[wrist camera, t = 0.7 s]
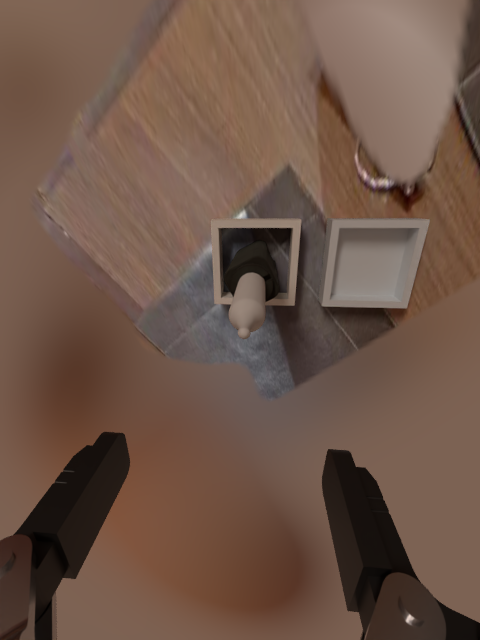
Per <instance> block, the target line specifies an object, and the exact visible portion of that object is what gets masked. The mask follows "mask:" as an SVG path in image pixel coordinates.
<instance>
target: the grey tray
mask: <svg viewBox="0 0 480 640" xmlns="http://www.w3.org/2000/svg"><path fill="white" fill-rule="evenodd" d="M429 222H430V220H429V219H420V218H328V220H327V229H326V237H325V246H324V255H323V263H322V272H321V280H320V289H319V298H318V300H319V302H320V304H321V306H325V307H369V308H407V306H408V302H409V299H410V295H411V291H412V287H413V283H414V279H415V276H416V272H417V268H418V264H419V260H420V256H421V252H422V249H423V245H424V241H425V237H426V233H427V229H428V226H429Z"/></svg>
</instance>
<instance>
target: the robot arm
mask: <svg viewBox="0 0 480 640" xmlns="http://www.w3.org/2000/svg"><path fill="white" fill-rule="evenodd" d="M129 466H130V458H129V453H128V448H127V443H126V438H125V435H124V434H123V433H114V432H103V433H102V434H101V435H100V436H99V438H98V439H97V440H96V442H95V443H94V445H93V446H90V445H87V446H86V447H84V448H83V449H82V450H81V451H79V452H78V453H77V454H76V455H74V456H73V458H72V459H71V460H70V462H69V463H68V464H67V466H66V467H65V468H64V471H63V472H61V473H60V475H59V476H58V477H57V479H56V480H55V483H54V484H52V485H51V487H50V488H49V489H48V491H47V492H46V494H45V495H44V496H43V497H42V499H41V500H40V501H39V503H38V504H37V505H36V507H35V508H34V509H33V511H32V512H31V513H30V515H29V516H28V518H27V519H26V520H25V521H24V523H23V524H22V525H21V527H20V528H19V529H18V530H17V532H16V533H15V534H14V535H12V536H9V537H6V538H4V539H2V540H0V640H57V623H56V622H57V620H56V619H57V618H56V592H55V591H56V589H57V588H58V586H59V584H60V582H61V580H62V578H71V579H76V577H77V575H78V573H79V571H80V569H81V567H82V565H83V563H84V561H85V559H86V557H87V555H88V553H89V551H90V549H91V547H92V545H93V543H94V541H95V539H96V537H97V535H98V533H99V531H100V529H101V527H102V525H103V523H104V521H105V519H106V517H107V515H108V513H109V511H110V509H111V507H112V505H113V503H114V501H115V499H116V497H117V495H118V493H119V491H120V489H121V487H122V485H123V483H124V481H125V479H126V477H127V474H128V471H129ZM322 489H323V496H324V500H325V505H326V510H327V515H328V520H329V524H330V529H331V534H332V539H333V544H334V548H335V553H336V558H337V562H338V567H339V572H340V577H341V581H342V586H343V591H344V596H345V601H346V605H347V610H348V611H354V612H359V614H360V619H361V623H362V627H363V632H362V634H361V637H360V640H480V623H479V622H476V621H474V620H472V619H470V618H468V617H466V616H464V615H462V614H460V613H458V612H456V611H453V610H452V609H450V608H448V607H446V606H445V605H443V604H442V603H440V602H439V601H438V600H437V599H436V598H434V597H433V595H432V594H431V593H430V592H429V590H428V589H426V587H425V586H424V585H423V584H421V582H420V581H419V579H418V578H417V576H416V574H415V572H414V571H413V569H412V566H411V564H410V561H409V559H408V556H407V554H406V551H405V549H404V547H403V544H402V542H401V539H400V537H399V535H398V533H397V530H396V527H395V525H394V523H393V520H392V518H391V515H390V514H389V510H388V508H387V506H386V504H385V501H384V500H383V496H382V493H381V491H380V489H379V486H378V484H377V482H376V480H375V479H374V478H373V477H372V475H371V474H370V473H369V472H368V470H367V469H366V468H361V467H356V466H355V463H354V461H353V458H352V455H351V453H350V452H349V451H346V450H333V449H328V451H327V455H326V460H325V465H324V470H323V476H322Z"/></svg>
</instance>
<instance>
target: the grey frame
mask: <svg viewBox="0 0 480 640" xmlns="http://www.w3.org/2000/svg"><path fill="white" fill-rule="evenodd" d="M222 228H291V234H290V250H289V265H288V280H287V293H278V295H277V296H276V297H275V298H273V299H271V300H269V301H267V302H265V305H282V306H295V293H296V281H297V268H298V256H299V243H300V231H301V219H212V220H211V236H212V257H213V278H214V299H215V304H231V303H232V300H233V296H232V294H231V292H224V284H223V253H222Z"/></svg>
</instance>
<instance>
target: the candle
mask: <svg viewBox="0 0 480 640" xmlns="http://www.w3.org/2000/svg"><path fill="white" fill-rule="evenodd" d="M224 281H225V283H226V285H227V287H228V289H229V291H230V292H231V294H232V296H233V300H232V303H231V306H230V309H229V320H230V322H231V324H232V325H233V326H234V327H235V328H236V329H237V330H239V331H238V335H239V337H240V338H242V339H247V338H248V337H249V336H250V332H253V331H256V330H257V329H259V328H260V327H261V326H262V324H263V323H264V321H265V302H267V301H269V300H271V299H273V298H275V297H276V296H277V295H278V293H279V282H278V276H277V270H276V265H275V261H274V260H272V258H271V256H270V254H269V251H268V249H267V245H266V243H265V242H264V241H261V240H258V241H255V242H253V243H252V244H250V245H248V246H246V247H244V248H242V249H240V250H239V251H238V252H237V253H236V255H235V257H234V259H233V260H232V262H231V264H230V266H229V268H228V270H227V271H226V273H225V276H224Z"/></svg>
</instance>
